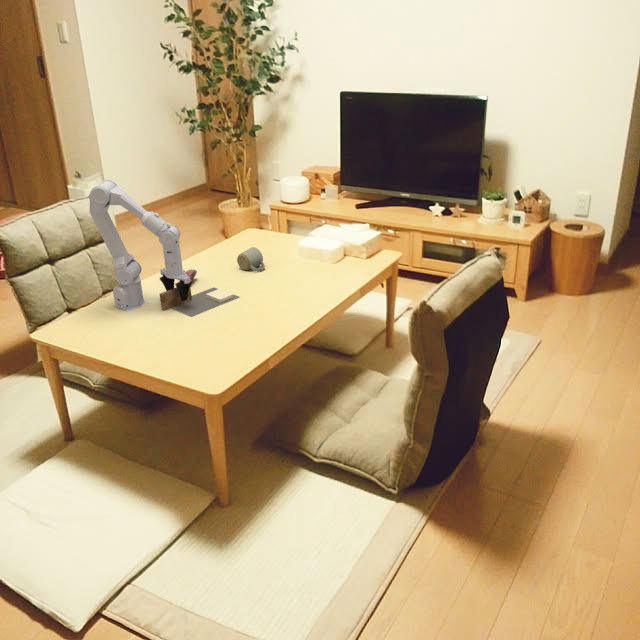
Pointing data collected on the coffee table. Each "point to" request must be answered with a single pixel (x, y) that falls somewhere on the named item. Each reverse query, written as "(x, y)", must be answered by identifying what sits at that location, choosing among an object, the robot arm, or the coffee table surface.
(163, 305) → the brown wooden block
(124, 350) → the coffee table surface
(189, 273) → the pink irregular lump
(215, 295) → the tile
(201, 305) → the mat
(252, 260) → the ceramic mug
